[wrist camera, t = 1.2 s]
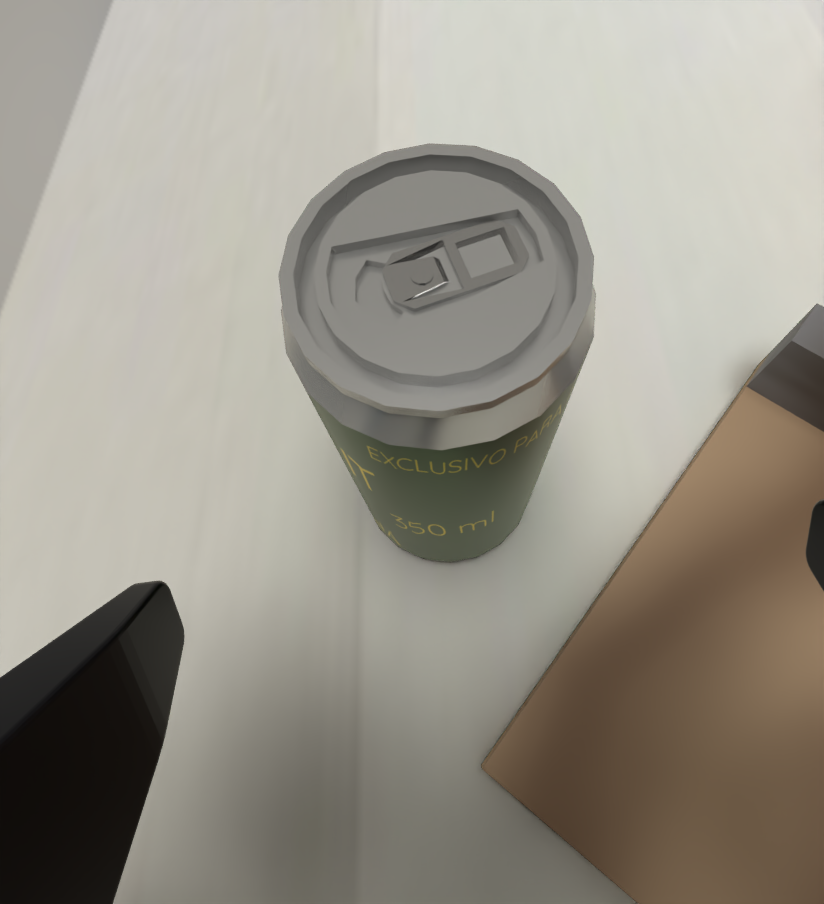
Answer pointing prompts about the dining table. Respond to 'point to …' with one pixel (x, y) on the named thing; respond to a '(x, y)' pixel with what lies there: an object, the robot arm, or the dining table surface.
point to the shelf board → (700, 672)
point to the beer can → (440, 335)
